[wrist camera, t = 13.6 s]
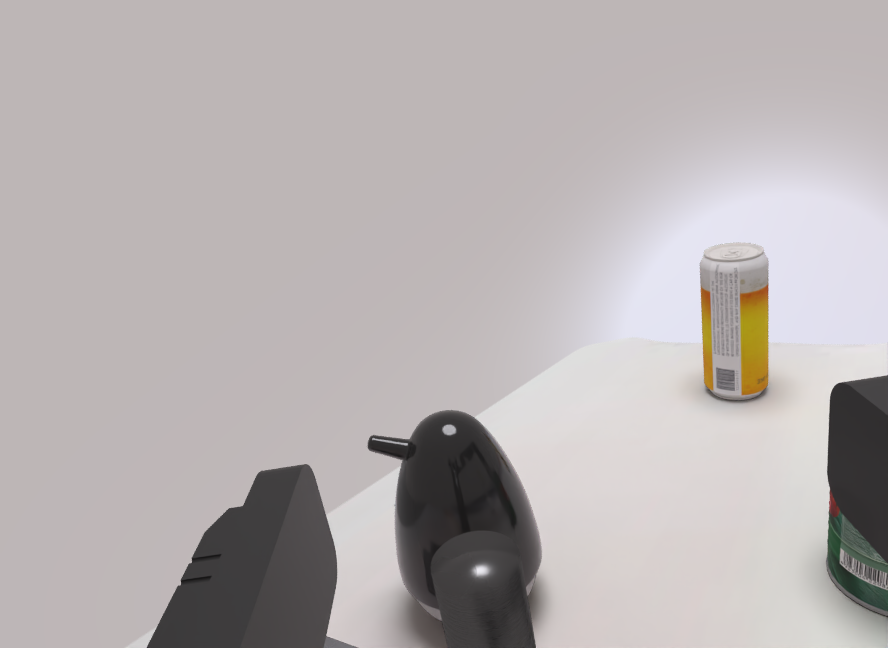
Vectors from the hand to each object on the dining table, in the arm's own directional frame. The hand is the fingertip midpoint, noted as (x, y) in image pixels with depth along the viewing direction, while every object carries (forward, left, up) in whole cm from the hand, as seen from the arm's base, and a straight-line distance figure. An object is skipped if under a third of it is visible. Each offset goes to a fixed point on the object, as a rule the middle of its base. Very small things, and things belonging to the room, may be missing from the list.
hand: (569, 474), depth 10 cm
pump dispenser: (-23, -19, -30) cm, 43 cm away
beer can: (-58, -6, -30) cm, 66 cm away
